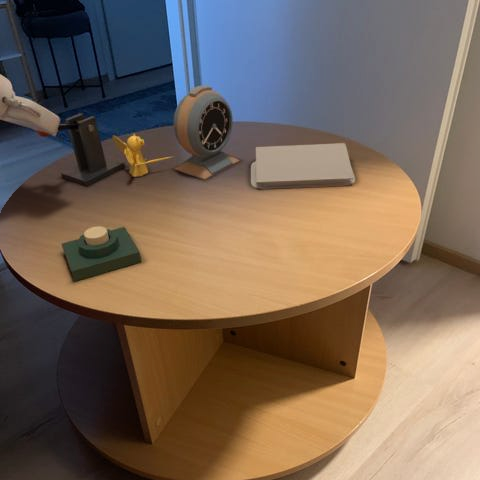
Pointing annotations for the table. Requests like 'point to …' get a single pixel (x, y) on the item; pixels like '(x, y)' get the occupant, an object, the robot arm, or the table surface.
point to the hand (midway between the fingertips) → (47, 130)
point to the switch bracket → (89, 153)
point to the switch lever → (62, 128)
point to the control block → (101, 254)
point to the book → (301, 166)
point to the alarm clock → (204, 132)
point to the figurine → (135, 154)
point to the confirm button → (96, 236)
